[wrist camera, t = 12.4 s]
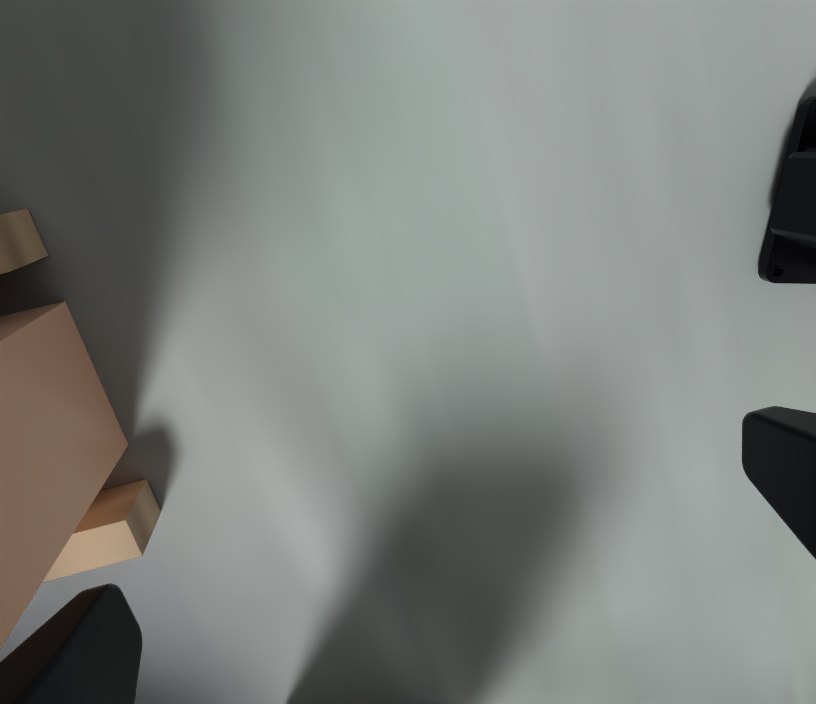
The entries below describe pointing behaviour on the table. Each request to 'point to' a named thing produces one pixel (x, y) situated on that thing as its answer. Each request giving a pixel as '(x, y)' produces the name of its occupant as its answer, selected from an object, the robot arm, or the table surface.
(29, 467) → the terracotta box
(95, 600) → the robot arm
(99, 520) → the shelf
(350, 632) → the table surface
